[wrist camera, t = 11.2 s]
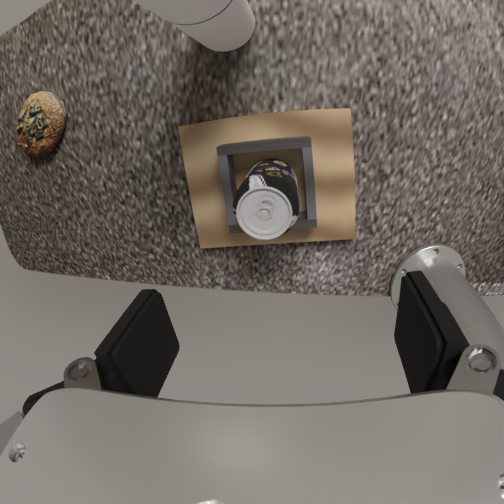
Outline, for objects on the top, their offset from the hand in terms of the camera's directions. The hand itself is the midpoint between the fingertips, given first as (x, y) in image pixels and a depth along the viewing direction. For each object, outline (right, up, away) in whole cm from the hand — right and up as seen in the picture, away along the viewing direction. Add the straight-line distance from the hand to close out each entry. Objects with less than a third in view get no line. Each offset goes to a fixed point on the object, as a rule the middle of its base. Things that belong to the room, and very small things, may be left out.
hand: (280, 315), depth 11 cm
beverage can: (+1, +11, +24) cm, 26 cm away
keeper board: (+1, +11, +25) cm, 27 cm away
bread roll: (-33, +23, +24) cm, 47 cm away
